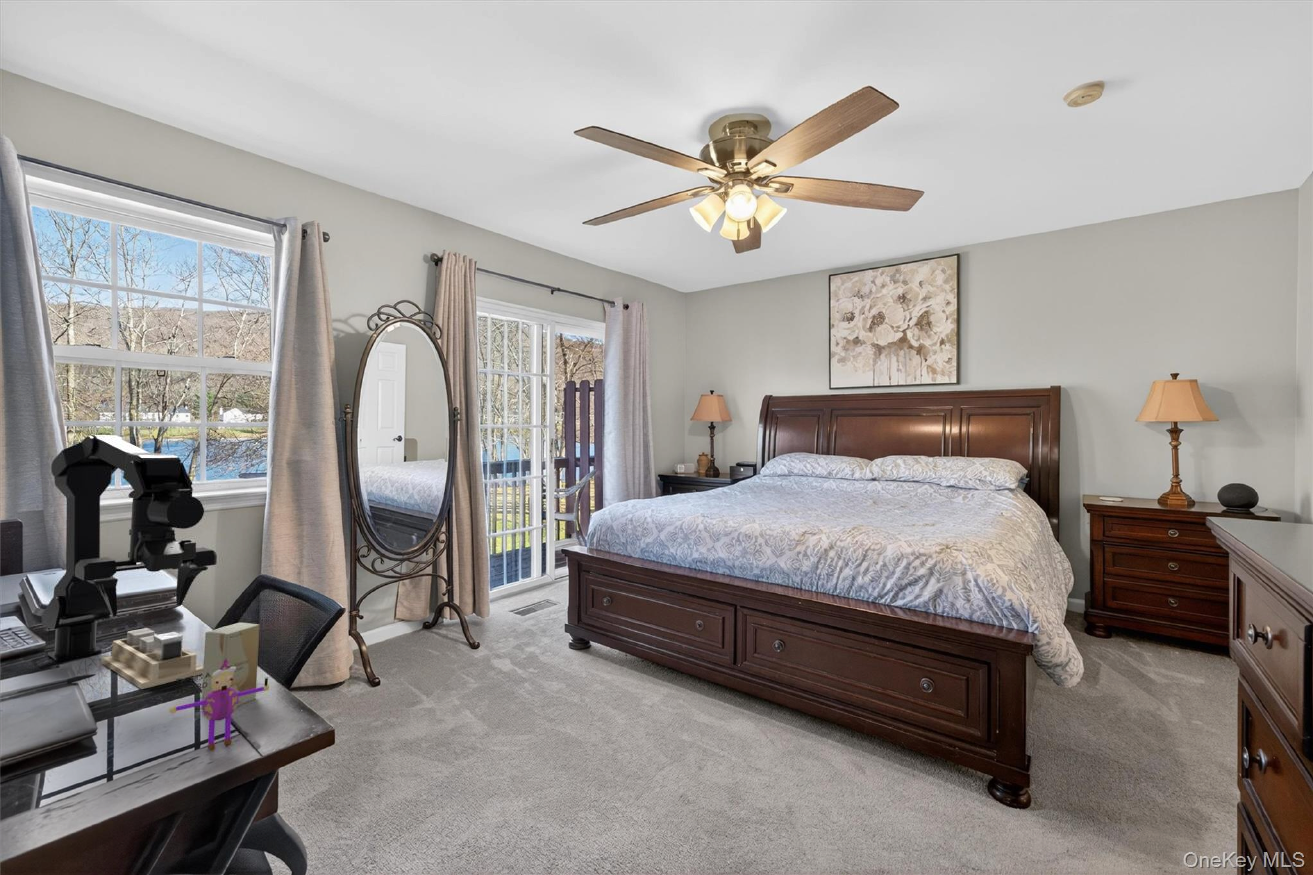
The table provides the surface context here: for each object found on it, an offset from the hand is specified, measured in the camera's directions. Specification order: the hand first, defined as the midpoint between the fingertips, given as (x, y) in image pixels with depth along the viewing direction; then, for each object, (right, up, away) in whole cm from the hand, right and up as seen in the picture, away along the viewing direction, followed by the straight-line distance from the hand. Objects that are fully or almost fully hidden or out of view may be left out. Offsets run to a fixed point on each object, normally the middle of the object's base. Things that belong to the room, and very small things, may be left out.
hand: (147, 610), depth 105 cm
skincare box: (+23, -12, -11) cm, 28 cm away
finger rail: (-2, -12, +3) cm, 12 cm away
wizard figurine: (+31, -12, -25) cm, 42 cm away
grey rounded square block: (+4, -10, -1) cm, 11 cm away
